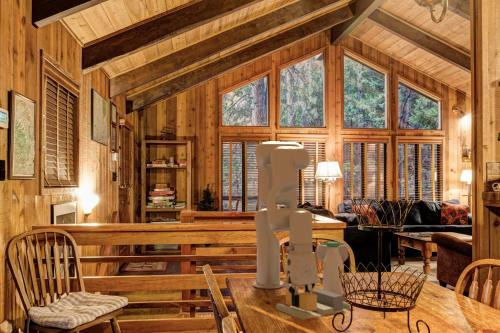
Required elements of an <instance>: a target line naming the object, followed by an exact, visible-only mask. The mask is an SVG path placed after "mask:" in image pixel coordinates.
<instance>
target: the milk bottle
mask: <svg viewBox="0 0 500 333" xmlns="http://www.w3.org/2000/svg"><path fill="white" fill-rule="evenodd" d="M339 243H340V242H337V241H327V254H326V256H325V259H324V262H322V263H323V264H322V275H323V279H322V290H326V291H329V292H332V293H336V294H339V295H342V296H344V294H345V292H344V291H345V290H344V291H343V288H342V285H341V281H340V278H339V273H338V267H340V268H341V269H342V270H343V272H344V262H342V259H341V257H340V254H339Z"/></svg>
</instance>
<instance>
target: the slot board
mask: <svg viewBox="0 0 500 333" xmlns="http://www.w3.org/2000/svg"><path fill="white" fill-rule="evenodd" d="M346 302H347V301H344V300H343V310H338V311H334V309H333V308H332V307H329V306H326V305H323V304H320V303H317V310H311V311H305V310H302V309H299V308H297V307H294V306H291V305H288V306H287V305H285V304H282V303H281V302H280V303H276V304H275V310H277V311H281V312H283V313H286V314H288V315H290V316H293V317H295V318H298V319H300V320H303V321H304V320H308V319H311V318H318V317H323V316H326V315H331V314H337V313H341V312H347V311H351V310H350V305H349V304H347V303H348V302H347V303H346Z"/></svg>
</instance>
